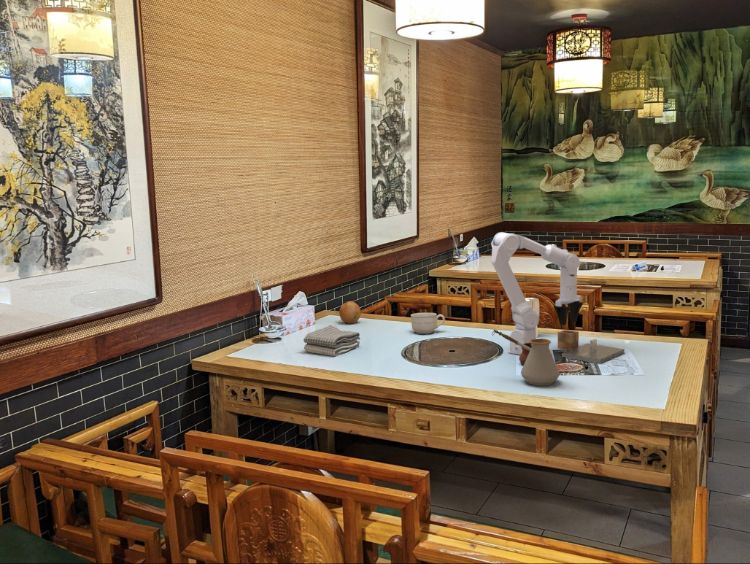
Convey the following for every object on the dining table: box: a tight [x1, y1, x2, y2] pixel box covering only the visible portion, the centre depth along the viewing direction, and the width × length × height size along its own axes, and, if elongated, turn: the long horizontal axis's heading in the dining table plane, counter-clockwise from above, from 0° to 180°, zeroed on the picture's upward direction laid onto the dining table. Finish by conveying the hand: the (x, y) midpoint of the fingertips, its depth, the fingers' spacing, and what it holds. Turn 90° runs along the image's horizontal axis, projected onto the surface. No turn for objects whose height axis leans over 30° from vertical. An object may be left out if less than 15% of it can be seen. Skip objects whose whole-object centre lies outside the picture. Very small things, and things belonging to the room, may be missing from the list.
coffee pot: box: [491, 329, 560, 387], centre depth 207 cm, size 21×12×15 cm, turn 56°
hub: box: [561, 338, 625, 365], centre depth 234 cm, size 18×14×6 cm
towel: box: [303, 324, 361, 357], centre depth 255 cm, size 15×18×8 cm
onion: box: [338, 300, 362, 324], centre depth 303 cm, size 10×10×10 cm
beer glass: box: [525, 297, 540, 339], centre depth 265 cm, size 7×7×15 cm
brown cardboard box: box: [557, 329, 580, 351], centre depth 245 cm, size 5×5×6 cm
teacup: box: [410, 312, 446, 335], centre depth 278 cm, size 14×11×8 cm
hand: (568, 323), depth 244 cm, fingers open, 7 cm apart
